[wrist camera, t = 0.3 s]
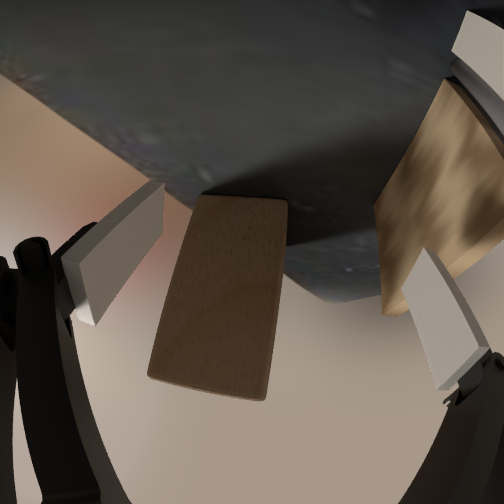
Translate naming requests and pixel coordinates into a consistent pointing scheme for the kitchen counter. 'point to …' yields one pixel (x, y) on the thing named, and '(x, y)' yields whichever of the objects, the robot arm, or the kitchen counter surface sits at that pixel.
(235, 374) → the wooden block
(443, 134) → the gate
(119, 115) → the kitchen counter surface
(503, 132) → the wall stub
